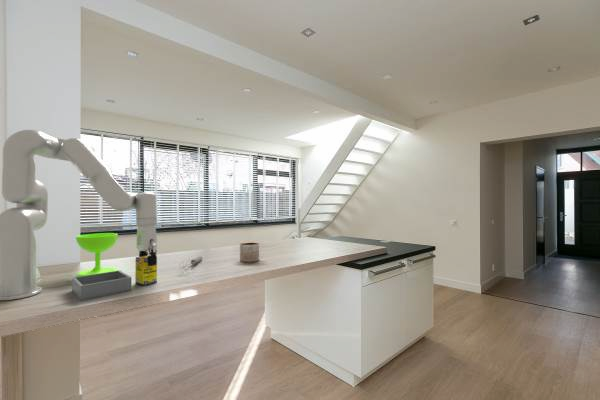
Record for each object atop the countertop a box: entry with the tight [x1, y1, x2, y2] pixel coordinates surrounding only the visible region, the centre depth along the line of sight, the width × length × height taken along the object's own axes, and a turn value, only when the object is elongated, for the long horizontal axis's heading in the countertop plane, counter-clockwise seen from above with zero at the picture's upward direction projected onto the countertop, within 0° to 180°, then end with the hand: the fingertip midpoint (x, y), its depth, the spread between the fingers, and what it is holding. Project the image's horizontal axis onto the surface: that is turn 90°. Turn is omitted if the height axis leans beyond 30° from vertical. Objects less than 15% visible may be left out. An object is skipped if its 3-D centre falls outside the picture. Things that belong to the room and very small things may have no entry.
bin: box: [71, 269, 132, 301], centre depth 109 cm, size 16×16×5 cm
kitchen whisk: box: [178, 255, 203, 273], centre depth 149 cm, size 6×34×6 cm, turn 6°
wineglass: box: [75, 232, 119, 277], centre depth 134 cm, size 16×16×18 cm
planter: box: [239, 241, 260, 263], centre depth 163 cm, size 11×11×10 cm
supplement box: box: [134, 255, 158, 287], centre depth 118 cm, size 6×6×11 cm
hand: (147, 263), depth 119 cm, fingers open, 9 cm apart
